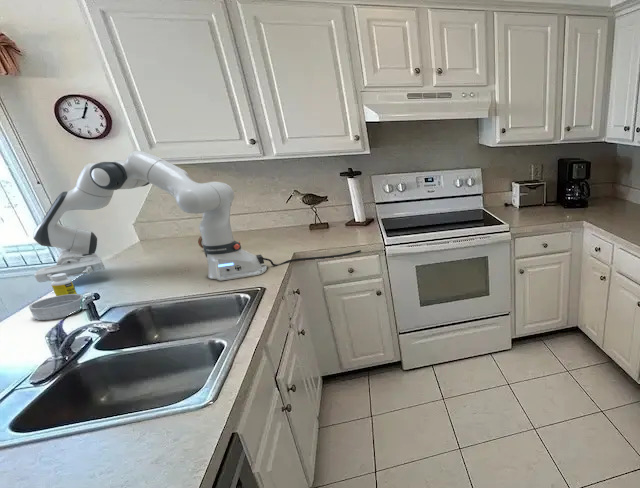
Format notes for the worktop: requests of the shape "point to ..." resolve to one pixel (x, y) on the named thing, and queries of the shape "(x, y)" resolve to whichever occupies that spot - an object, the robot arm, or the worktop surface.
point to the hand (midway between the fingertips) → (70, 276)
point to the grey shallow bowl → (55, 307)
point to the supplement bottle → (62, 285)
